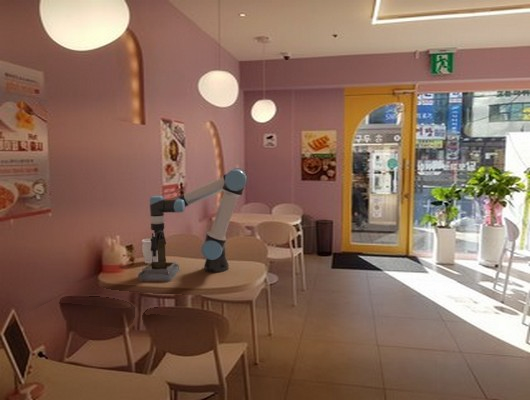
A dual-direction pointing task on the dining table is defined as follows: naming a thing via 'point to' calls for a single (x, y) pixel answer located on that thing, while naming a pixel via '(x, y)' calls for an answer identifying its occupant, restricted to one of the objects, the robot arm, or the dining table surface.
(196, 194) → the robot arm
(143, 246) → the jar
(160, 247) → the container
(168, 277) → the grey tray
